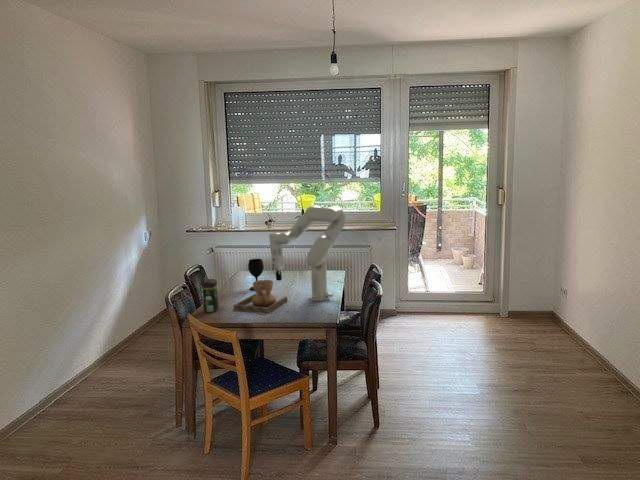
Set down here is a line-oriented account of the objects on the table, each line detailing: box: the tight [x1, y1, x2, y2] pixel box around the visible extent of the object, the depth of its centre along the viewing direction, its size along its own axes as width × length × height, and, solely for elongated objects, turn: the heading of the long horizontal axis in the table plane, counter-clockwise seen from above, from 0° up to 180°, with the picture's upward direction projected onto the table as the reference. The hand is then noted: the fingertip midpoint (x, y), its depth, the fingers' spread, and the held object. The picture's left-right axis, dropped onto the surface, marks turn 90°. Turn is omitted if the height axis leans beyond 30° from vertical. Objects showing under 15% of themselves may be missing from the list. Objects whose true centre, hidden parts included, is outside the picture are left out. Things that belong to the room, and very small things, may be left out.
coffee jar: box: [201, 278, 220, 313], centre depth 292 cm, size 10×8×19 cm
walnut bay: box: [233, 293, 288, 314], centre depth 300 cm, size 23×25×3 cm
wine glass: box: [247, 258, 265, 292], centre depth 339 cm, size 10×10×20 cm
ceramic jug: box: [251, 279, 277, 307], centre depth 301 cm, size 18×14×14 cm
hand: (279, 280), depth 319 cm, fingers closed
